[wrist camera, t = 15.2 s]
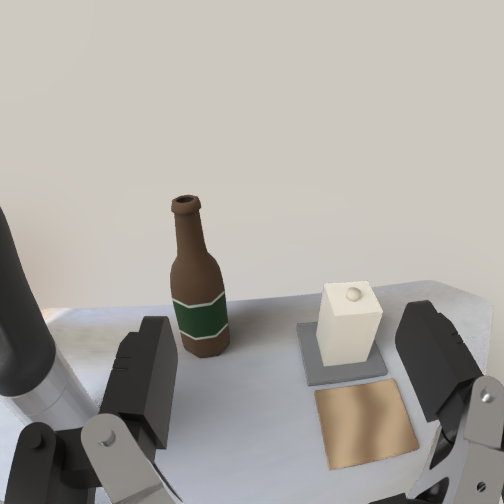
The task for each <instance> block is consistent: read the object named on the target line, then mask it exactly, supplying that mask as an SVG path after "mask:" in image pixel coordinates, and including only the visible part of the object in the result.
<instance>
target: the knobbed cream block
mask: <svg viewBox="0 0 504 504" xmlns="http://www.w3.org/2000/svg"><path fill="white" fill-rule="evenodd" d="M382 313H383V310H382V308H381V306H380V304H379V302H378V300H377V298H376V296H375V294H374V293H373V291H372V289H371V287H370V285H369V283H368V281H359V282H344V283H328V284H324V287H323V293H322V300H321V306H320V313H319V319H318V325H317V332H316V336H317V340H318V344H319V348H320V352H321V357H322V361H323V365H324V366H333V365H342V364H350V363H358V362H365V361H366V360H367V357H368V355H369V352H370V349H371V346H372V343H373V341H374V338H375V335H376V332H377V329H378V326H379V323H380V320H381V317H382Z"/></svg>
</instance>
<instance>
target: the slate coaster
mask: <svg viewBox="0 0 504 504" xmlns="http://www.w3.org/2000/svg"><path fill="white" fill-rule="evenodd" d="M317 325H318V322H313V323H299V324H297V332H298V337H299V342H300V347H301V352H302V357H303V362H304V367H305V373H306V378H307V383H308V386H314V385H323V384H331V383H339V382H346V381H353V380H360V379H366V378H372V377H378V376H384V375H386V374H387V370H386V367H385V365H384V362H383V360H382V357H381V355H380V352H379V350H378V347H377V345H376V343H375V340H374V341H373V343H372V346H371V349H370V352H369V355H368V357H367V360H366V361H365V362H358V363H350V364H342V365H333V366H324V365H323V361H322V357H321V352H320V348H319V344H318V340H317V336H316V332H317Z"/></svg>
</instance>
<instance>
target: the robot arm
mask: <svg viewBox="0 0 504 504" xmlns="http://www.w3.org/2000/svg"><path fill="white" fill-rule="evenodd" d="M395 344H396V349H397V351H398V353H399V356H400V358H401V360H402V362H403V365H404V367H405V369H406V371H407V374H408V376H409V378H410V381H411V383H412V386H413V388H414V390H415V393H416V395H417V398H418V400H419V403H420V405H421V408H422V410H423V413H424V415H425V418H426V420H427V423H428V422H431V421H435V420H438V419H439V421H440V425H439V427H438V429H437V432H436V435H435V438H434V441H433V444H432V447H431V450H430V453H429V456H428V459H427V462H426V465H425V467H424V470H423V472H422V474H421V476H420V477H419V479H418V480H417V481H416V483H415V484H414V486H413V487H412V489H411V491H410V493H409V495H408V497H407V498H406V495H405V493H402V494H399V495H396V496H392V497H389V498H385V499H382V500H378V501H374V502H371V503H369V504H499V499H500V496H501V495H502V499H503V503H504V387H503V385H502V384H501V383H500V382H499V381H498V380H497V379H495V378H493V377H491V376H484V375H483V374H482V372H481V370H480V368H479V367H478V365H477V363H476V361H475V360H474V358H473V356H472V355H471V353H470V351H469V350H468V348H467V346H466V345H465V343H463V340H462V338H461V336H460V335H458V332H457V330H456V328H455V327H454V325H453V324H452V322H451V321H450V320H449V319H447V318H446V317H445V316H444V315H443V314H441V313H438V312H437V311H436V309H435V308H434V306H433V305H432V303H431V302H430V301H428V300H425V301H417V302H409V303H408V304H407V305H406V308H405V310H404V313H403V316H402V319H401V321H400V324H399V327H398V329H397V332H396V336H395ZM177 364H178V354H177V347H176V343H175V340H174V336H173V333H172V329H171V325H170V322H169V319H168V317H167V316H145V317H144V318H143V320H142V323H141V326H140V330H139V332H129V333H128V335H127V336H126V337H125V338H124V339H123V341H122V342H121V343H120V345H119V348H118V351H117V354H116V359H115V361H114V364H113V367H112V368H113V370H111V373H110V377H109V380H108V383H107V387H106V390H105V394H104V397H103V401H102V404H101V408H100V409H99V408H98V406H97V405H96V404H95V402H94V401H93V400H92V398H91V397H90V395H89V394H88V393H87V391H86V390H85V388H84V387H83V385H82V384H81V382H80V381H79V379H78V378H77V376H76V375H75V373H74V372H73V370H72V369H71V367H70V365H69V364H68V362H67V361H66V359H65V358H64V356H63V354H62V353H61V351H60V349H59V348H58V346H57V344H56V342H55V341H54V339H53V337H52V335H51V334H50V332H49V330H48V328H47V326H46V324H45V321H44V319H43V316H42V314H41V312H40V309H39V307H38V305H37V302H36V300H35V298H34V296H33V294H32V292H31V290H30V287H29V285H28V282H27V279H26V277H25V274H24V272H23V269H22V266H21V263H20V260H19V257H18V254H17V251H16V248H15V245H14V241H13V238H12V235H11V232H10V229H9V226H8V223H7V221H6V218H5V215H4V213H3V211H2V209H1V207H0V400H1V401H2V402H3V403H4V404H5V406H6V407H7V408H8V409H9V410H10V411H11V412H12V413H13V414H14V415H15V416H16V417H17V418H18V419H19V420H20V421H21V422H22V423H23V424H24V425H25V426H26V427H25V428H24V429H23V430H22V431H21V433H20V435H19V438H18V442H17V446H16V450H15V453H14V457H13V462H12V466H11V470H10V475H9V479H8V484H7V489H6V495H5V500H4V504H94V502H95V492H96V487H104V489H105V491H106V493H107V495H108V496H109V498H110V500H111V502H112V504H185V502H184V501H183V500H182V499H181V497H180V496H179V495H178V493H177V492H176V491H175V489H174V488H173V487H172V485H171V484H170V483H169V481H168V480H167V479H166V477H165V476H164V474H163V473H162V471H161V470H160V469H159V467H158V466H157V464H156V463H155V461H154V459H155V451H156V449H165V450H166V447H167V438H168V430H169V422H170V414H171V406H172V399H173V392H174V385H175V378H176V371H177Z"/></svg>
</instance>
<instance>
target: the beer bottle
mask: <svg viewBox="0 0 504 504" xmlns="http://www.w3.org/2000/svg"><path fill="white" fill-rule="evenodd" d="M171 207H172V208H171V211H172V212H173V213H174V215H175V227H176V238H177V248H178V249H177V258H176V260H175V261H174V263H173V265H172V268H171V273H170V284H171V293H172V300H173V304H174V309H175V313H176V317H177V321H178V325H179V329H180V333H181V337H182V341H183V344H184V347H185V350H187V351H188V352H190V353H192V354H194V355H196V356H197V357H199V358H205V357H211V356H218V355H219V354H220V353H221V352H222V351H223V350H224V349H225V348H226V346H227V345H228V344H229V328H228V318H227V308H226V298H225V289H224V284H223V279H222V275H221V271H220V267H219V265H218V264H217V262H216V260H215V259H214V258H213V257H212V256H211V255H210V254H209V253H208V252H207V249H206V245H205V242H204V236H203V231H202V226H201V219H200V213H199V209H200V208H201V204H200V200H199V198H198V197H197V196H192V195H184V196H180V197H177V198H176V199H173V200H172V206H171Z"/></svg>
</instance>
